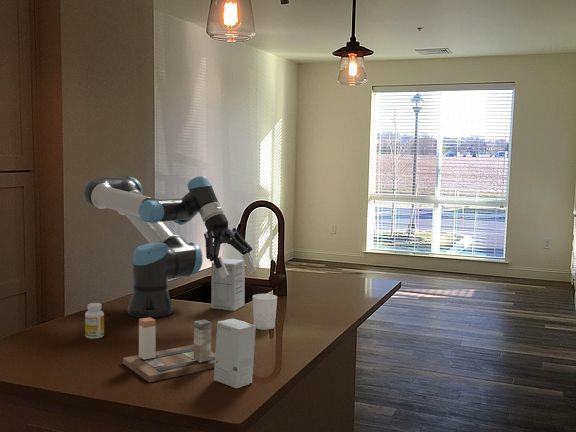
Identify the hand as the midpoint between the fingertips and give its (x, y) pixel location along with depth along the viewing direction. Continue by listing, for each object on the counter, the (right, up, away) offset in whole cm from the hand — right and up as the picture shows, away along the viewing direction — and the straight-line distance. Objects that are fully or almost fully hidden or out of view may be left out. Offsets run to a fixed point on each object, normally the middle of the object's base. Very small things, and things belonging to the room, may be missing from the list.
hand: (239, 274), depth 205 cm
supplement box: (-6, -14, +20) cm, 25 cm away
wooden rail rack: (-14, -20, -42) cm, 48 cm away
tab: (-21, -18, -42) cm, 50 cm away
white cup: (+8, -17, -5) cm, 19 cm away
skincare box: (+3, -22, -53) cm, 57 cm away
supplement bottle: (-42, -17, -19) cm, 49 cm away
